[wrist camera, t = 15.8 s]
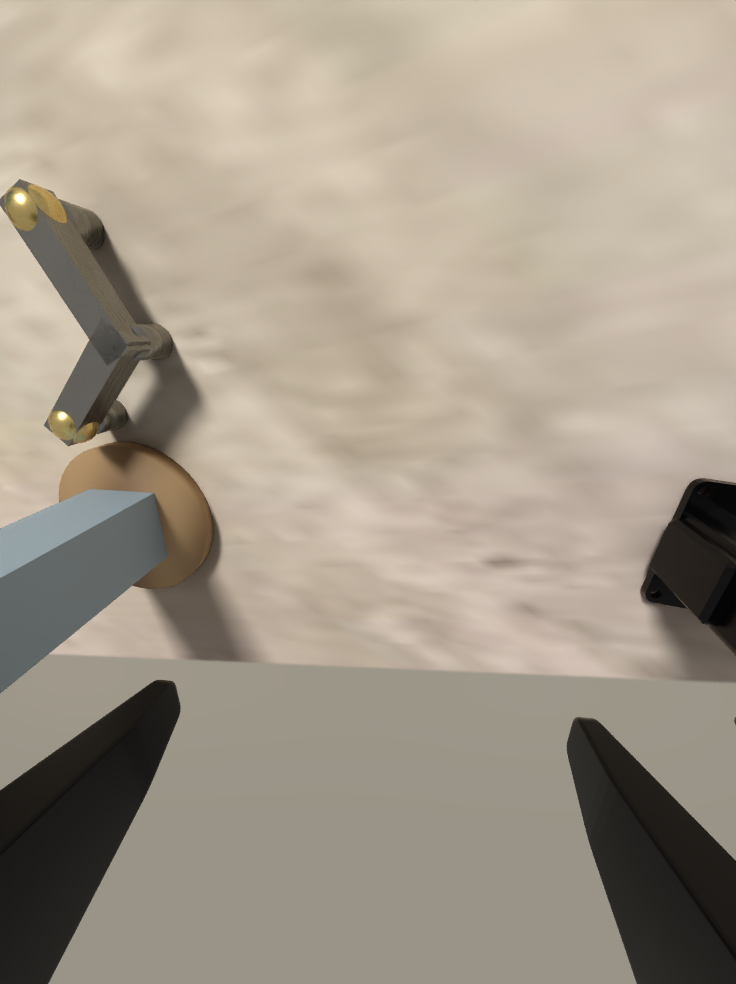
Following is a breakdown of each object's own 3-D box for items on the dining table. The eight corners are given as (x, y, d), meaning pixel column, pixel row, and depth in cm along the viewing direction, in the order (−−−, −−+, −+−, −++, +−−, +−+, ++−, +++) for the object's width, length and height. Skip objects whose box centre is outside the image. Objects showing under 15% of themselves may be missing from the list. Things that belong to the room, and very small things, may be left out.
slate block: (154, 492, 22) (-139, 654, 11) (167, 556, 23) (-77, 756, 12) (89, 488, 22) (-250, 638, 11) (107, 551, 24) (-178, 736, 13)
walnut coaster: (209, 455, 21) (199, 460, 20) (216, 591, 25) (207, 601, 24) (60, 430, 22) (44, 434, 21) (86, 565, 26) (73, 573, 25)
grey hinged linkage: (166, 211, 17) (105, 183, 14) (182, 441, 21) (138, 460, 18) (64, 201, 18) (-17, 172, 15) (99, 428, 22) (41, 444, 19)
